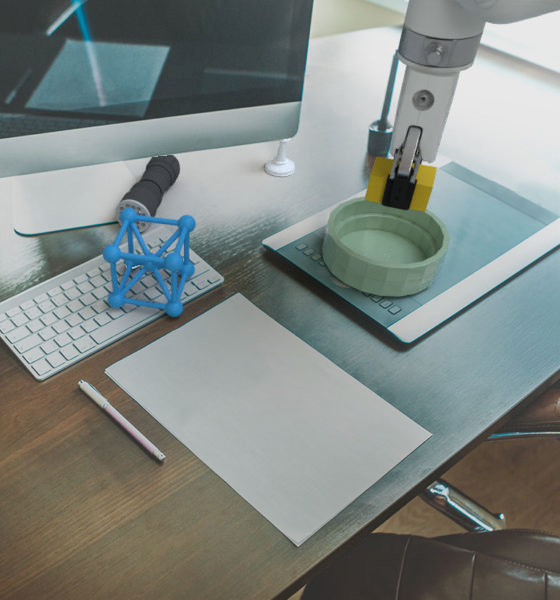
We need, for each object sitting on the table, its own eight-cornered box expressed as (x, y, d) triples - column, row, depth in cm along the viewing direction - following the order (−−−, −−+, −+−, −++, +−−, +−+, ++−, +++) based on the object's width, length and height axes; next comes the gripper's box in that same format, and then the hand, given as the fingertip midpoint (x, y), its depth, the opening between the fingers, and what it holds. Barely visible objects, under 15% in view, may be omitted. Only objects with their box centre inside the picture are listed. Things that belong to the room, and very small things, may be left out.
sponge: (429, 191, 79) (437, 166, 76) (425, 212, 76) (432, 186, 74) (371, 180, 81) (376, 156, 79) (364, 200, 78) (370, 175, 76)
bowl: (443, 240, 93) (454, 209, 89) (431, 312, 83) (443, 280, 79) (334, 217, 98) (340, 186, 94) (310, 282, 87) (316, 250, 84)
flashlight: (151, 174, 107) (150, 145, 104) (182, 180, 106) (182, 150, 102) (116, 228, 97) (113, 198, 93) (150, 235, 95) (149, 205, 92)
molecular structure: (181, 322, 82) (181, 262, 76) (105, 310, 84) (99, 251, 77) (196, 271, 89) (197, 212, 83) (126, 261, 91) (121, 203, 84)
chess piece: (279, 157, 110) (285, 102, 103) (301, 169, 107) (309, 113, 100) (258, 167, 108) (263, 112, 101) (280, 180, 105) (287, 124, 98)
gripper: (471, 83, 59) (422, 242, 72) (483, 19, 70) (438, 165, 83) (387, 72, 61) (353, 227, 74) (411, 11, 73) (378, 155, 85)
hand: (398, 193), depth 78 cm, fingers closed on sponge, 4 cm apart
